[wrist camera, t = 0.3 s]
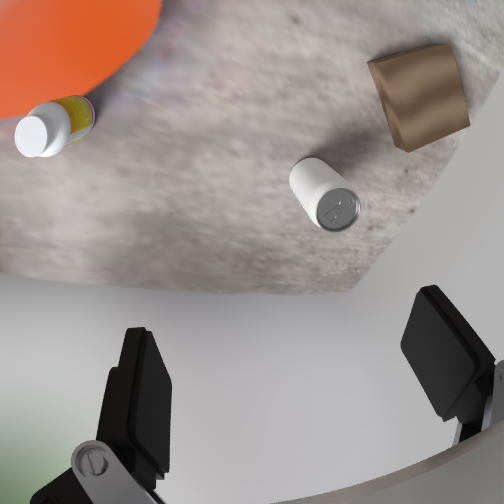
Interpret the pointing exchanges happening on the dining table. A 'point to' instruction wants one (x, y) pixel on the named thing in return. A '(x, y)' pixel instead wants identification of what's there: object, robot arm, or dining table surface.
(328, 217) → the can
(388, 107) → the base
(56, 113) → the supplement bottle
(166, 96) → the dining table surface
